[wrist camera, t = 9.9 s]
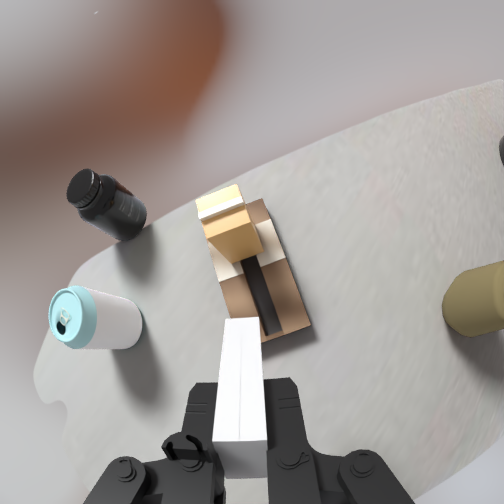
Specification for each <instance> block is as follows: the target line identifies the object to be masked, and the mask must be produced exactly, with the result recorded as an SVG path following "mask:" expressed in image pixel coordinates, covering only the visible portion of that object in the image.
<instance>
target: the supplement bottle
mask: <svg viewBox="0 0 504 504" xmlns="http://www.w3.org/2000/svg"><path fill="white" fill-rule="evenodd" d="M67 199H68V201H69V202H70V203H71V204H72V205H74V206H75V207H76V208H77V209H78V213H79V215H80V217H81V218H82V219H83V220H84V221H85V222H87V223H88V224H90V225H92V226H94V227H96V228H98V229H99V230H101V231H103V232H105V233H106V234H108V235H110V236H112V237H114V238H116V239H118V240H121V241H126V240H130V239H132V238H134V237H135V236H136V235H138V234H139V232H140V231H141V230H142V228H143V226H144V224H145V221H146V208H145V206H144V204H143V203H142V202H141V201H140V200H139V199H138V198H137V197H136V196H134V195H133V194H132V193H131V192H130V191H129V190H127V189H126V188H125V187H124V186H123V185H121V184H120V183H119V182H118V181H117V180H116V179H114V178H113V177H112V176H110V175H105V174H104V175H98V174H97V173H95V172H94V171H92V170H91V169H83V170H81V171H80V172H78V173H77V174H76V175H75V176H74V177H73V178H72V180H71V182H70V183H69V186H68V189H67Z"/></svg>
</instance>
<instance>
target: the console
mask: <svg viewBox="0 0 504 504" xmlns="http://www.w3.org/2000/svg"><path fill="white" fill-rule="evenodd" d="M246 206H247V209H248V211H249V213H250V215H251V218H252V220H253V223H254V225H255V228H256V231H257V233H258V236H259V239H260V241H261V244H262V247H263V250H264V252H262V253H259V254H256V255H254V256H251V257H248V258H246V259H243V260H240V261H238V262H235V263H232V264H231V263H230V262H229V261H228V260H227V259H226V258H225V257H224V256H223V255H222V254H221V253H220V252H219V251H218V250H217V249H216V248H215V247H214V246H213V245H212V244H211V243H210V242H209V241H208V240H207V243H208V247H209V250H210V254H211V257H212V260H213V264H214V267H215V270H216V273H217V277H218V280H219V283H220V286H221V289H222V292H223V295H224V299H225V302H226V305H227V308H228V311H229V314H230V317H231V319H233V318H249V317H259V324H260V338H261V343H263V342H266V341H269V340H272V339H274V338H277V337H280V336H283V335H286V334H289V333H291V332H294V331H297V330H300V329H302V328H305V327H308V326H310V325H311V324H310V321H309V319H308V316H307V313H306V310H305V308H304V305H303V302H302V300H301V297H300V294H299V291H298V289H297V286H296V284H295V281H294V278H293V276H292V273H291V270H290V268H289V265H288V262H287V260H286V257H285V255H284V252H283V249H282V247H281V244H280V242H279V239H278V237H277V234H276V232H275V229H274V226H273V224H272V221H271V219H270V216H269V214H268V211H267V209H266V206H265V204H264V202H263V199H262V198H261V199H259V200H256V201H253V202H251V203H248V204H246ZM203 229H204V228H203ZM205 236H206V235H205Z"/></svg>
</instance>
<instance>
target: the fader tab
mask: <svg viewBox="0 0 504 504" xmlns="http://www.w3.org/2000/svg"><path fill="white" fill-rule="evenodd" d="M196 203H197V207H198V210H199V213H198V216H199V219H200V220H201V221H202V225H203V228H204V232H205V235H206V239H207V240H208V241H209V242H210V243H211V244H212V245H213V246H214V247H215V248H216V249H217V250H218V251H219V252H220V253H221V254H222V255H223V256H224V257H225V258H226V259H227V260H228V261H229V262H230V263H231V264H232V263H235V262H238V261H240V260H243V259H246V258H248V257H251V256H254V255H256V254H259V253H262V252H264V250H263V247H262V244H261V241H260V239H259V236H258V233H257V231H256V228H255V225H254V223H253V220H252V218H251V215H250V213H249V211H248V209H247V206H246V204H245V202H244V199H243V197H242V195H241V193H240V190H239V188H238V186H237V184H235V185H232V186H229V187H227V188H224V189H222V190H219V191H217V192H214V193H212V194H209V195H207V196H204V197H202V198H200V199H197V200H196Z"/></svg>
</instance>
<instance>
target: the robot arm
mask: <svg viewBox="0 0 504 504" xmlns="http://www.w3.org/2000/svg"><path fill="white" fill-rule="evenodd" d="M499 149H500V156H501V159H502V162H503V165H504V136H503V137H502V139H501V141H500V145H499ZM161 448H162V449H163V451H164V453H165V454H166V456H167V458H165V459H162V460H158V461H152V462H145V463H141V462H140V461H139V460H137V459H136V458H133V457H128V456H125V457H119V458H117V459H115V460H113V461H112V462H111V463H110V464H109V465H108V467H107V468H106V470H105V471H104V473H103V474H102V476H101V477H100V479H99V480H98V482H97V483H96V485H95V486H94V488H93V489H92V491H91V492H90V494H89V495H88V497H87V498H86V500H85V501H84V503H83V504H226V491H225V487H224V475H225V477H226V479H241V478H266V477H268V496H269V504H415V503H414V502H413V500H412V499H411V498H410V496H409V495H408V493H407V492H406V491H405V489H404V488H403V487H402V485H401V484H400V483H399V481H398V480H397V478H396V477H395V476H394V474H393V473H392V471H391V470H390V469H389V467H388V466H387V465H386V463H385V462H384V460H383V459H382V458H381V457H380V456H379V455H378V454H377V453H376V452H373V451H370V450H357V451H353V452H351V453H349V454H348V455H346V456H345V457H342V456H331V455H325V454H321V453H319V452H317V451H315V450H314V449H313V448H312V447H311V446H310V445H309V443H308V440H307V437H306V431H305V426H304V420H303V415H302V410H301V404H300V399H299V394H298V389H297V386H296V384H295V383H294V382H293V381H292V380H291V378H290V377H288V378H278V379H265V380H263V365H262V351H261V338H260V324H259V317H249V318H233V319H226V321H225V329H224V337H223V346H222V354H221V363H220V372H219V381H218V383H196V384H195V386H194V387H193V388H192V389H191V391H190V392H189V397H188V402H187V407H186V413H185V416H184V421H183V426H182V431H181V432H178V433H175V434H173V435H170V436H169V437H168V438H167V439H166V440H165V441H164V443H163V445H162V447H161Z"/></svg>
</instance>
